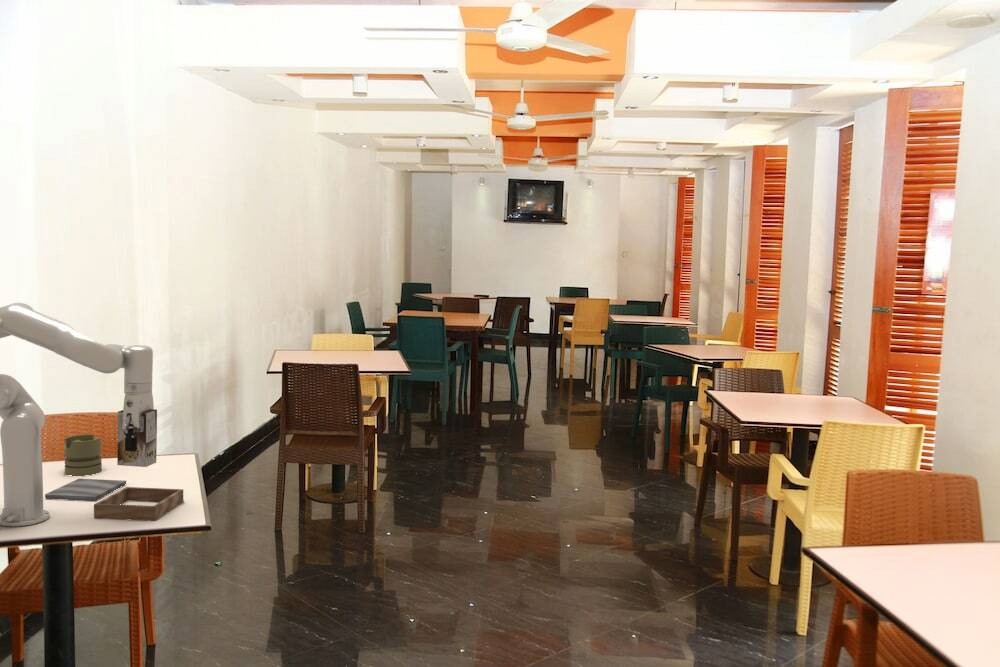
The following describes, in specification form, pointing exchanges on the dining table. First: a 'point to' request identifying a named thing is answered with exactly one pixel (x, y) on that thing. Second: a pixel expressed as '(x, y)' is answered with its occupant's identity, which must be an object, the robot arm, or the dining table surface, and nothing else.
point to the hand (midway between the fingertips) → (137, 447)
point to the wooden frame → (138, 512)
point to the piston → (82, 455)
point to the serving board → (85, 489)
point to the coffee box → (139, 441)
